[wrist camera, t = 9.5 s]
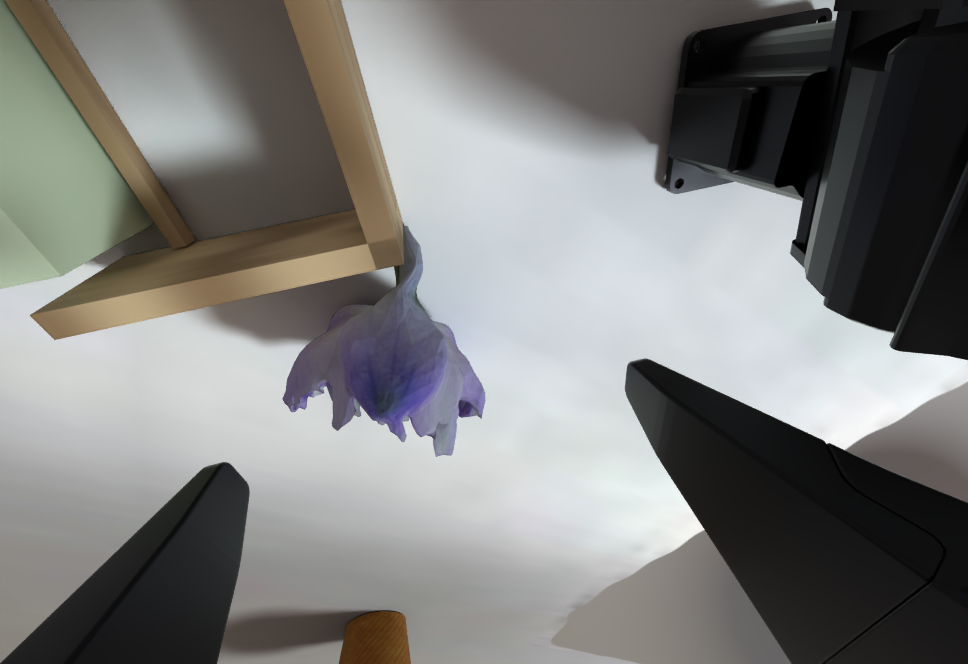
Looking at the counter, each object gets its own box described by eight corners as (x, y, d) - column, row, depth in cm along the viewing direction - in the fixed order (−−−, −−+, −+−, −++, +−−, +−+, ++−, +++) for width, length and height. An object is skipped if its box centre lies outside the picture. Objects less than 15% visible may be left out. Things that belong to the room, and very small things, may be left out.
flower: (246, 211, 10) (330, 535, 12) (496, 200, 15) (533, 433, 16) (241, 256, 18) (292, 448, 19) (407, 240, 22) (437, 396, 24)
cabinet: (285, -198, 11) (201, -408, 6) (402, 222, 18) (404, 269, 13) (-271, -130, 9) (-870, -321, 5) (90, 287, 16) (-25, 363, 12)
